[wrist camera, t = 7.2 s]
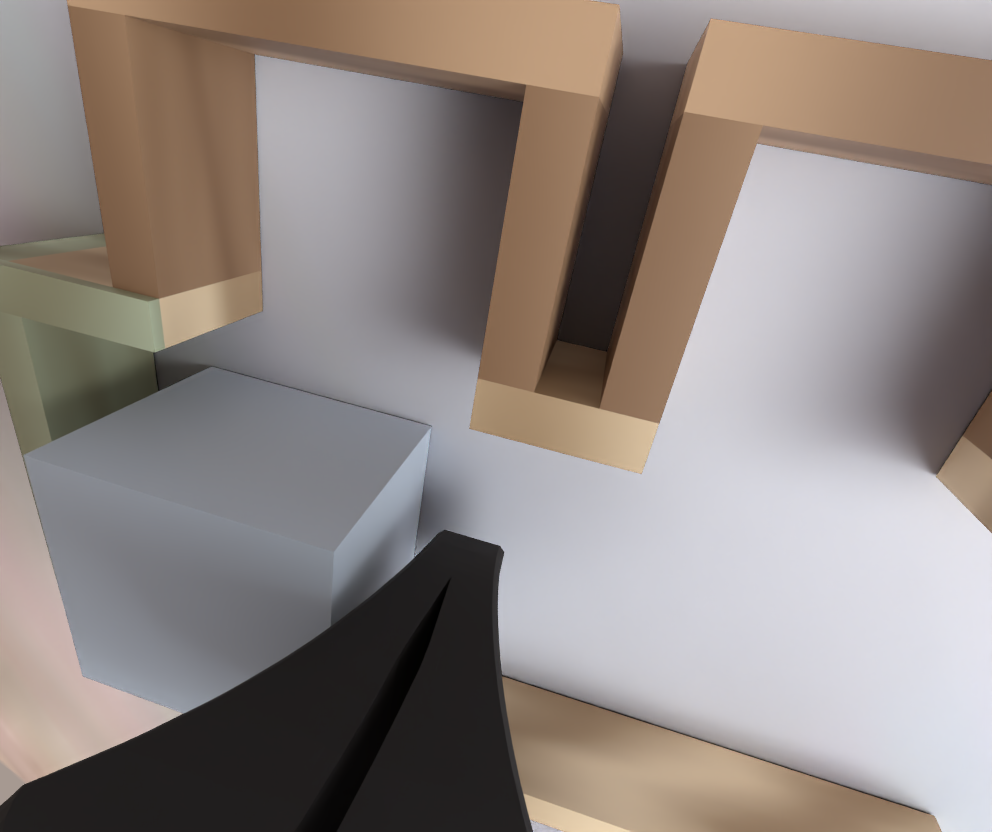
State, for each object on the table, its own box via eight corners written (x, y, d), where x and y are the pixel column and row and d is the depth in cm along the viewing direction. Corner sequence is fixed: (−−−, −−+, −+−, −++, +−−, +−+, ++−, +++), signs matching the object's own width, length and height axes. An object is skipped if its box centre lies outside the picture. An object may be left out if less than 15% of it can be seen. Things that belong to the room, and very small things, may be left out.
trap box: (1545, 202, 6) (2129, 222, 4) (916, 834, 12) (984, 993, 10) (60, -38, 9) (-157, -117, 6) (159, 585, 15) (70, 664, 13)
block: (431, 426, 11) (333, 551, 7) (407, 603, 13) (323, 765, 10) (211, 366, 11) (23, 455, 8) (224, 545, 14) (83, 676, 10)
